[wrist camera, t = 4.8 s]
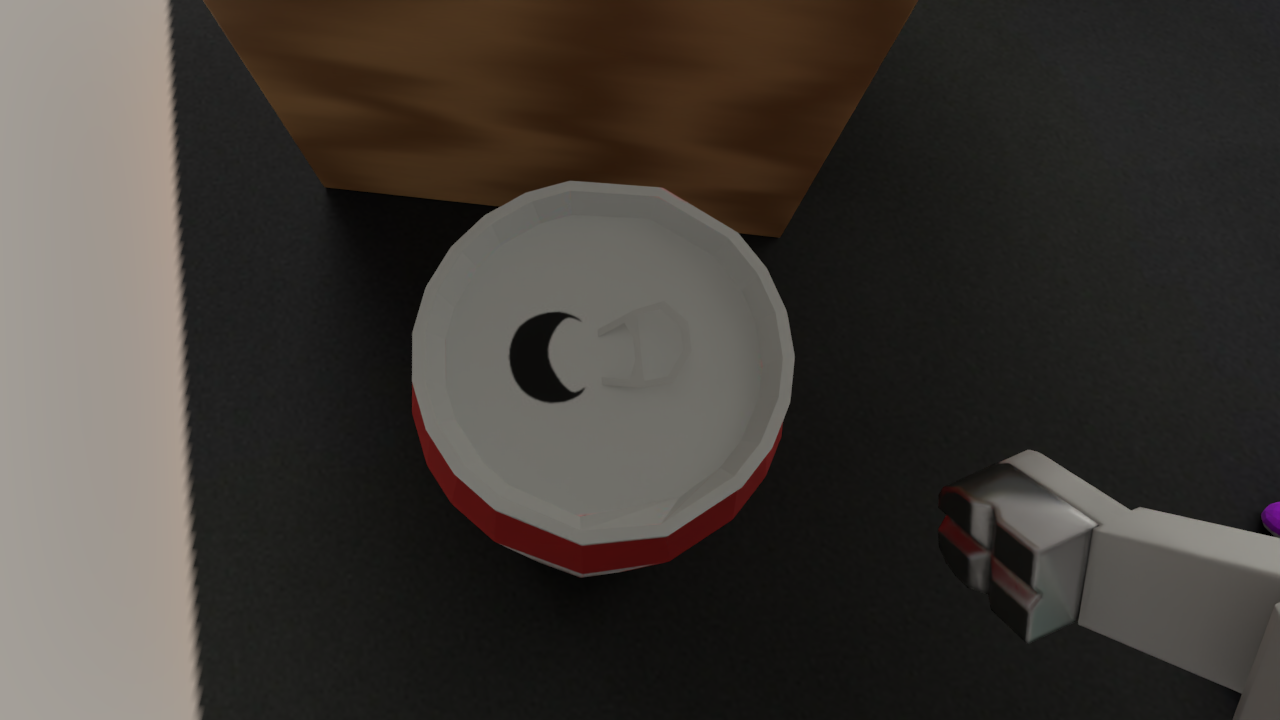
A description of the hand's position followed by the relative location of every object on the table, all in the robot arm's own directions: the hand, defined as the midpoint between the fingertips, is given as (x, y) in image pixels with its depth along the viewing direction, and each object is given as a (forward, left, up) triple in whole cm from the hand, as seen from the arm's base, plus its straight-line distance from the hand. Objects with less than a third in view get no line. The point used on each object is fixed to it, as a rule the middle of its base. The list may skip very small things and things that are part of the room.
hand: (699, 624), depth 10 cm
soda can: (-2, +3, -10) cm, 11 cm away
